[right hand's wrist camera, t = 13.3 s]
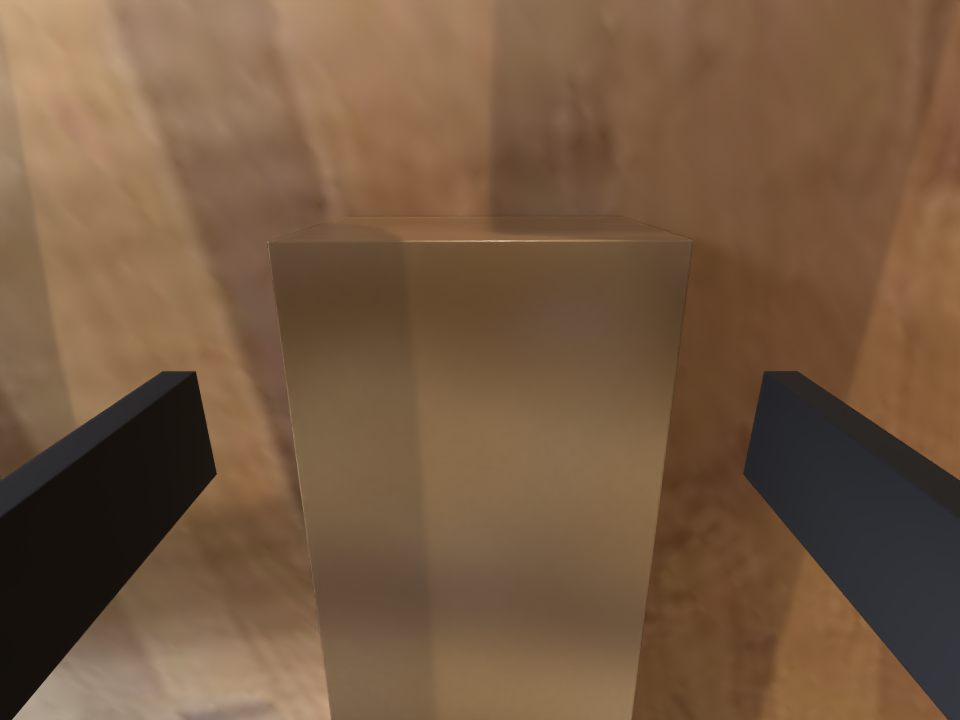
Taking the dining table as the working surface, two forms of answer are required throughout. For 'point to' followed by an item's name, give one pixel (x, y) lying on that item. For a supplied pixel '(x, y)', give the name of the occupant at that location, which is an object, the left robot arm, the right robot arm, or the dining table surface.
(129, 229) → the dining table surface
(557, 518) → the thick board
